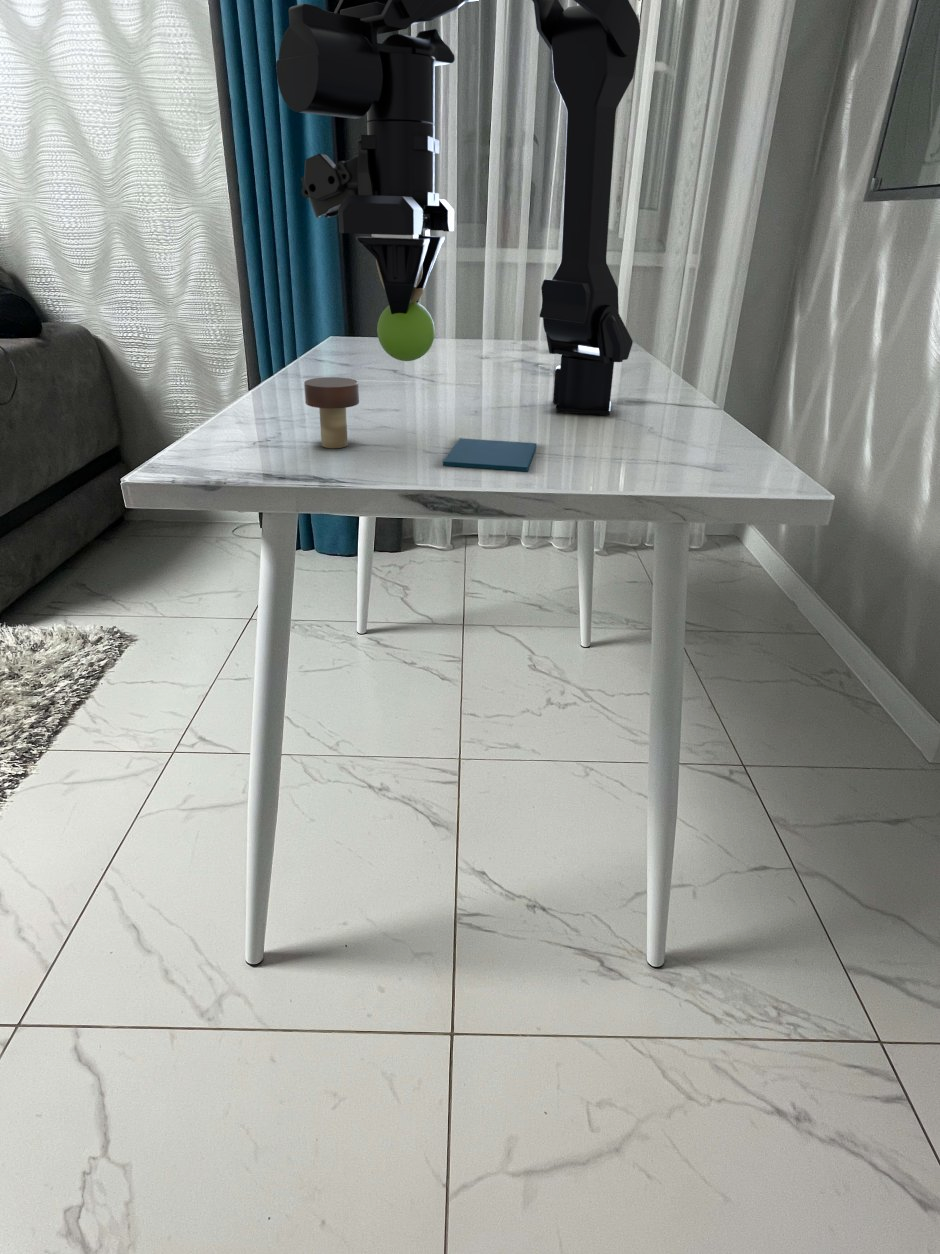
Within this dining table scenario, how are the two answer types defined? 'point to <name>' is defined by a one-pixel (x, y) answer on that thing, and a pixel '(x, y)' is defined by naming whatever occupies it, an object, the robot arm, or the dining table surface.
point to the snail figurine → (406, 329)
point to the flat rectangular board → (491, 454)
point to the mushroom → (332, 406)
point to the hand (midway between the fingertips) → (403, 318)
